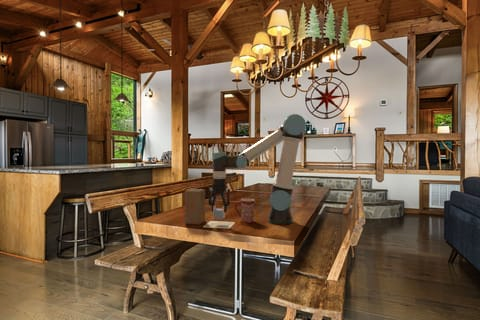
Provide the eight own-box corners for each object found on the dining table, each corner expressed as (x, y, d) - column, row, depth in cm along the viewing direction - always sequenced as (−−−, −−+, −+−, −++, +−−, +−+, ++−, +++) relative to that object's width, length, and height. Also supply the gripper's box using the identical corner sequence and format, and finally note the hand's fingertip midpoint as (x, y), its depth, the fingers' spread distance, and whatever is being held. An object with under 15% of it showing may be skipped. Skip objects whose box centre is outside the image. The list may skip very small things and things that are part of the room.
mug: (256, 220, 176) (256, 198, 175) (252, 223, 167) (252, 201, 167) (237, 218, 180) (237, 197, 179) (232, 221, 171) (232, 200, 171)
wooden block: (200, 225, 164) (199, 191, 163) (184, 224, 166) (183, 190, 165) (205, 220, 173) (205, 189, 173) (190, 220, 175) (190, 188, 175)
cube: (224, 217, 166) (224, 208, 166) (221, 219, 161) (222, 210, 161) (216, 216, 167) (216, 208, 167) (213, 218, 162) (213, 210, 162)
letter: (235, 222, 170) (235, 221, 170) (229, 228, 156) (229, 228, 156) (210, 221, 173) (210, 220, 173) (202, 227, 159) (202, 226, 159)
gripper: (235, 177, 165) (235, 216, 166) (206, 177, 169) (206, 214, 170) (232, 179, 158) (232, 219, 159) (202, 178, 162) (202, 217, 162)
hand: (219, 217), depth 164 cm, fingers closed on cube, 5 cm apart
